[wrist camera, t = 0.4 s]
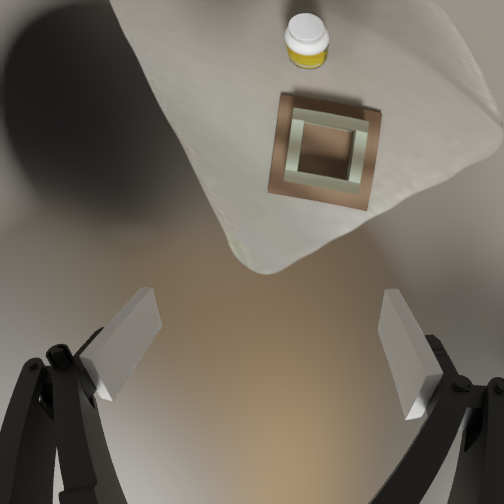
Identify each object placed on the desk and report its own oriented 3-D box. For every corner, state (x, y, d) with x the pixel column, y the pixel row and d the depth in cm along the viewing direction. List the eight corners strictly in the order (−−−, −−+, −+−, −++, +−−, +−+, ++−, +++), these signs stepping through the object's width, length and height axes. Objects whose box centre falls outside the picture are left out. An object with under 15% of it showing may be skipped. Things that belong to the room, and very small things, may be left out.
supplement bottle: (329, 70, 33) (333, 45, 24) (290, 72, 34) (283, 47, 25) (324, 38, 31) (326, 7, 22) (287, 40, 32) (278, 10, 23)
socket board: (281, 95, 35) (278, 89, 32) (381, 113, 33) (387, 109, 30) (268, 192, 40) (264, 195, 37) (365, 210, 38) (370, 215, 35)
